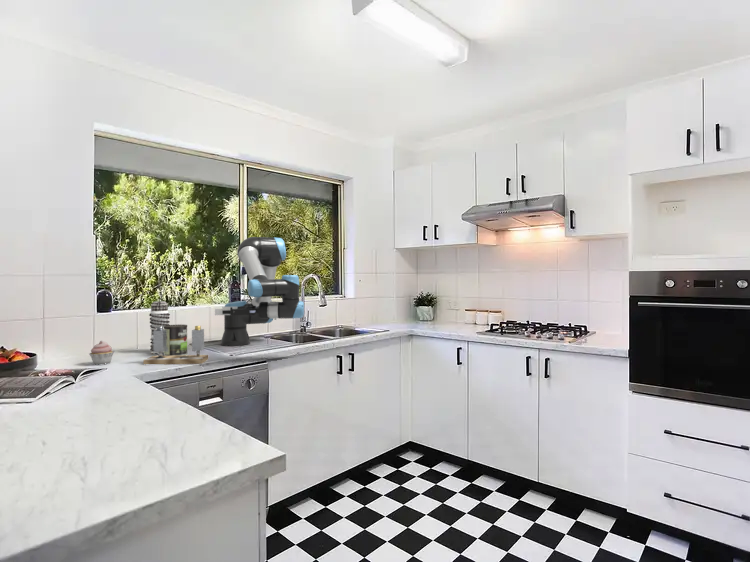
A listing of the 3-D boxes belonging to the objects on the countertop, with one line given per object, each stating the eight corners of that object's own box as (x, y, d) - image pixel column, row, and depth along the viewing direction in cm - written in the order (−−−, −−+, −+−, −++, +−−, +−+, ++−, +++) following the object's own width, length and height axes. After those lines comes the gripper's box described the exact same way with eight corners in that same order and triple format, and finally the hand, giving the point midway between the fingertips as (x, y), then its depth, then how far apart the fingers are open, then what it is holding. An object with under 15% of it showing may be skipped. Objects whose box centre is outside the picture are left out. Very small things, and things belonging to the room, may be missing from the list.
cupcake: (84, 364, 190) (83, 341, 190) (106, 360, 198) (105, 338, 198) (97, 366, 185) (96, 342, 185) (119, 362, 194) (118, 339, 193)
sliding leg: (204, 355, 198) (203, 325, 198) (201, 356, 194) (201, 326, 194) (194, 355, 197) (194, 325, 197) (192, 357, 193) (191, 326, 193)
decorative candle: (156, 354, 213) (156, 302, 213) (145, 352, 218) (145, 301, 218) (174, 351, 221) (173, 301, 221) (163, 350, 226) (162, 300, 226)
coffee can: (192, 353, 216) (191, 324, 215) (178, 357, 206) (178, 327, 205) (173, 352, 218) (172, 324, 218) (159, 356, 208) (158, 326, 207)
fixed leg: (166, 356, 196) (166, 326, 196) (163, 358, 192) (162, 327, 192) (157, 357, 196) (156, 326, 196) (153, 358, 192) (153, 327, 192)
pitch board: (208, 359, 201) (208, 354, 201) (202, 363, 191) (201, 358, 191) (152, 360, 198) (152, 355, 198) (143, 364, 189) (143, 359, 188)
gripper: (264, 321, 186) (211, 322, 184) (272, 316, 210) (225, 316, 208) (264, 303, 186) (211, 304, 184) (272, 300, 210) (225, 300, 208)
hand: (218, 310), depth 196 cm, fingers open, 12 cm apart
